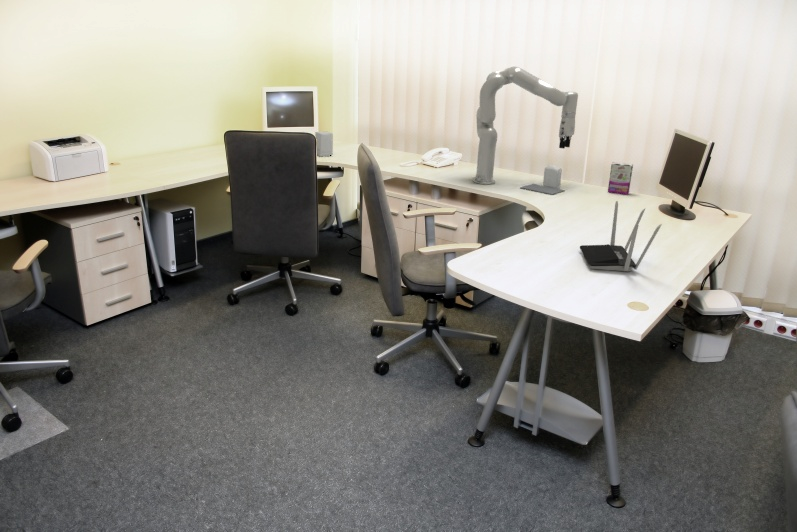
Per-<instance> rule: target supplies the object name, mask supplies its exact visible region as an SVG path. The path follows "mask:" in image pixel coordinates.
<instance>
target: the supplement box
mask: <svg viewBox="0 0 797 532" xmlns="http://www.w3.org/2000/svg"><path fill="white" fill-rule="evenodd" d="M314 132H315V133H314V134H315V135H314V137H315V136H316V139H317V154H318V155H317V156H318V157H321V156H325V157H331V156H330V155H334V154H333V153H334V150H333V149H334V148H333V146H334V145H333V144H334V143H333V142H334V139H333V138H334V133H333V132H330V131H314Z"/></svg>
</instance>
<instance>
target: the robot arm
mask: <svg viewBox="0 0 797 532" xmlns="http://www.w3.org/2000/svg"><path fill="white" fill-rule="evenodd" d="M511 84H514V85H516V86H518V87H520V88H521V89H523V90H525V91H528V92H529V93H531V94H532V95H535V96H537V97H540V98H542V99H544V100H546V101H548V102H550V104H551V105H553V106H557V107H562V109H561V120H560V125H559V130H558V137H559V144H558V145H559V146H558V148H559V149H563V150H564V149H565V148H570V146H571V140H572V136H574V135H575V130H576V129H575V128H576V114H577V106H578V98H579V93H578V92H576V91H561V90H560V89H557V87H554V86H552V85H550V84H549V83H547V82H545V81H544V80H542V79H540V78H539V77H537V76H535V75H533V74H532V73H530V72H529V71H527V70H525V69H523V68H521V67H519V66H510V67H507V68H502V69H500V70H496V71H492V72H491V73H489V74H488V75H487V77H486V80H485V81H484V83H483V84H482V86H481V88H480V91H479V107H478V108H477V111H476V115H475V116H476V133H477V137H478V139H479V142H478V143H479V144H478V150H477V164H476V173H475V176H473V177H472V178H471V180H472V181H473V183H475V184H479V185H493V184H495V183H496V180H495V179H494V168H495V158H496V147H497V141H498V132H497V130H496V129H495V128H494V121H495V119H496V117H497V116H496V113H497V112H496V96H497V92H498V91H499V90H500V89H501V88H503V86H506V85H511Z"/></svg>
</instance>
